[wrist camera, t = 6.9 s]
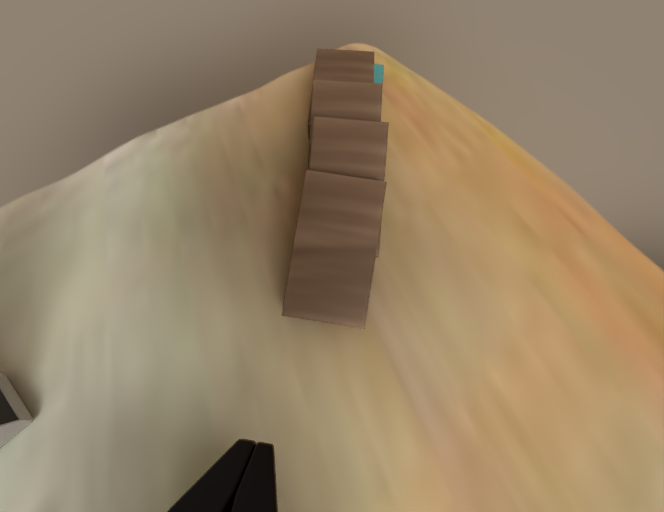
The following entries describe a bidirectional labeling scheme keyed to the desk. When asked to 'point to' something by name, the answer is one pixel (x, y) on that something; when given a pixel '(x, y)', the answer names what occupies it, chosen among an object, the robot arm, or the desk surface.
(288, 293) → the domino
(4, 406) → the vintage mobile phone
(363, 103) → the domino
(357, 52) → the domino
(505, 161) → the desk surface
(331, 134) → the domino
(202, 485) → the robot arm
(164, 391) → the desk surface
